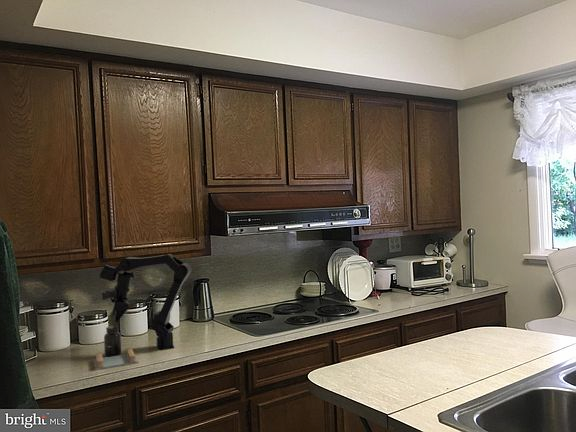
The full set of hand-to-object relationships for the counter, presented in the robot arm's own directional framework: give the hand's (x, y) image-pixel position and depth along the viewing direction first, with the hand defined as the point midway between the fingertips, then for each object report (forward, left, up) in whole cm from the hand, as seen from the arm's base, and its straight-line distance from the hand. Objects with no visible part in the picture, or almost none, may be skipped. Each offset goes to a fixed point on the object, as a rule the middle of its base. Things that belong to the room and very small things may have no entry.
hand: (115, 318), depth 212 cm
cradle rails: (+2, +20, -14) cm, 25 cm away
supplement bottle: (+2, +9, -14) cm, 17 cm away
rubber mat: (+2, +20, -14) cm, 25 cm away
